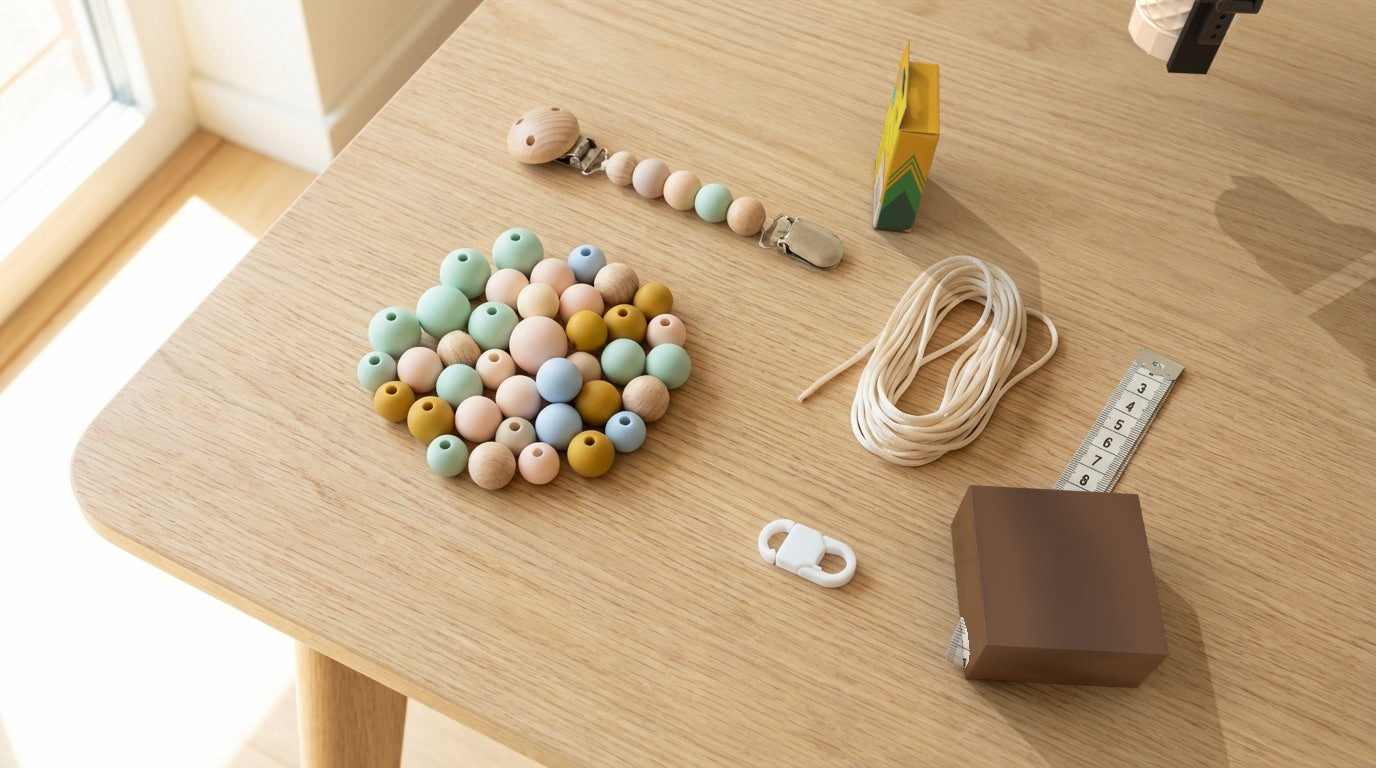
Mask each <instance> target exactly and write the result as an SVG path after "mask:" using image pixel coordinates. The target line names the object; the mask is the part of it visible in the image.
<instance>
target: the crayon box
mask: <svg viewBox="0 0 1376 768" xmlns="http://www.w3.org/2000/svg"><path fill="white" fill-rule="evenodd" d="M910 41H911V40H910V39H909V38H908V39H907V41H906V44H905V46H904V49H903V51H902V53H901V57H900V59H899V60H898V61H899V62H898V67H897V71H896V76H895V79H894V80H895V81H894V85H893V90H892V93H891V97H890V102H889V106H888V110H887V114H886V118H885V123H884V127H883V130H882V135H881V139H880V144H879V147H878V151H877V155H876V158H875V161H874V162H875V163H874V164H875V173H874V174H875V175H874V188H873V213H872V214H873V216H872V218H873V220H872V228H873V229H877V230H885V231H895V232H906V233H911V232H912V229H913V227H914V223H915V221H916V217H917V214H918V210H919V207H920V204H921V199H922V196H923V193H924V190H925V186H926V183H927V181H928V180H927V179H928V176H929V173H930V170H931V166H932V163H933V159H934V156H935V152H936V149H937V146H938V143H939V140H940V136H941V135H940V133H941V132H940V125H941V124H940V65H939V64H938V63H931V62H930V63H929V62H922V61H921V62H919V61H910V44H911V43H910Z"/></svg>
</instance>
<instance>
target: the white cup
mask: <svg viewBox="0 0 1376 768" xmlns="http://www.w3.org/2000/svg"><path fill="white" fill-rule="evenodd" d="M1194 2H1195V0H1135V2H1134V5H1133V8H1132V10H1131V13H1130V18H1129V22H1128V27H1127V31H1128V32H1129V35H1130V36H1131V38H1132V41H1133V43H1134V44H1135V45H1137V46H1138V47H1139V49H1141V50H1142V51H1143V52H1145V53H1146V54H1147V55H1149V56H1151V57H1153V58H1156V59H1158V60H1161V61H1163V62H1165V63H1167V62H1168V60H1169V58H1170V56H1171V53H1172V51H1173V49H1174V47H1175V44H1176V42H1177V40H1178V38H1179V35H1180V33H1181V31H1182V29H1183V26H1184V24H1185V22H1186V20H1187V18H1188V15H1189V13H1190V11H1191V9H1192V6H1193V4H1194ZM1241 16H1242V14H1241V13H1236V14H1235V16H1234V18H1233V20H1232V22H1231V24H1230V26H1229V29H1228V31H1227V33H1226V35H1225V37H1224V39H1223V41H1222V43H1221V45H1220V47H1219V49H1218V51H1217V53H1219V52H1220V51H1221V49H1222V48H1223V46H1224V44H1225V42H1226V40H1227V38H1228V36H1229V35H1230V33H1231V31H1232V30H1233V27H1234V26H1235V24H1237V22H1238V20H1239V19H1240V17H1241Z"/></svg>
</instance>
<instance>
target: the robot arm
mask: <svg viewBox="0 0 1376 768" xmlns="http://www.w3.org/2000/svg"><path fill="white" fill-rule="evenodd" d="M1264 2H1265V0H1195V2H1194V4H1193V6H1192V9H1191V11H1190V13H1189V15H1188V18H1187V20H1186V22H1185V24H1184V26H1183V29H1182V31H1181V33H1180V35H1179V38H1178V40H1177V42H1176V44H1175V47H1174V49H1173V51H1172V53H1171V56H1170V58H1169V60H1168V62H1166V65H1165V67H1166V71H1167V73H1168V74H1186V75H1207V74H1208V72H1209V70H1210V68H1211V65H1212V64H1213V61H1214V60H1215V57H1216V55H1217V54H1218V52H1217V51H1218V49H1219V47H1220V45H1221V43H1222V41H1223V39H1224V37H1225V35H1226V33H1227V31H1228V29H1229V26H1230V24H1231V22H1232V20H1233V18H1234V16H1235V14H1236V13H1241V15H1242V14H1246V15H1258V14H1259V12H1260V10H1261V9H1262V6H1263V4H1264Z"/></svg>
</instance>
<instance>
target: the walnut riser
mask: <svg viewBox="0 0 1376 768" xmlns="http://www.w3.org/2000/svg"><path fill="white" fill-rule="evenodd" d="M1142 511H1143V510H1142V506H1141V500H1140V497H1139V494H1138V493H1126V492H1109V491H1107V492H1106V491H1087V490H1069V489H1054V488H1052V489H1051V488H1034V487H1014V486H997V485H981V484H980V485H979V484H978V485H977V484H969V485H968V486H967V490H966V492H965V494H964V496H963V498H962V500H961V502H960V504H959V507H958V508H957V510H956V513H955V515H954V517H953V519H952V521H951V523H950V529H951V541H952V550H953V563H954V572H955V582H956V583H955V584H956V593H957V594H956V596H957V603H958V605H957V606H958V615H960V617H963V618H964V621H965V625H966V628H967V632H968V640H969V649H970V650H969V652H970V655H969V662H968V664H967V666H966V668H965V670H964V678H965V679H966V680H983V681H1002V682H1020V683H1021V682H1022V683H1039V684H1058V685H1059V684H1060V685H1062V684H1063V685H1075V686H1076V685H1079V686H1097V687H1116V688H1132V689H1133V688H1136V689H1137V688H1139V687H1140V686H1141V685H1142V684H1143V683H1144V682H1145V681H1146V680H1147V679H1148V678H1149V677H1150V676H1151V675H1152V674H1153V673H1154V672H1155V671H1156V670H1157V669H1158V668H1159V666H1160V665H1162V664H1163V662H1164V661H1165V660H1166V659H1167V658H1168V657H1169V656H1170V650H1169V645H1168V641H1167V635H1166V631H1165V626H1164V619H1163V614H1162V609H1161V605H1160V598H1159V594H1158V589H1157V585H1156V584H1157V583H1156V578H1155V574H1154V569H1153V568H1154V567H1153V563H1152V558H1151V553H1150V547H1149V543H1148V538H1147V533H1146V527H1145V522H1144V517H1143V512H1142ZM959 613H960V614H959ZM960 617H959V618H960Z"/></svg>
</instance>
